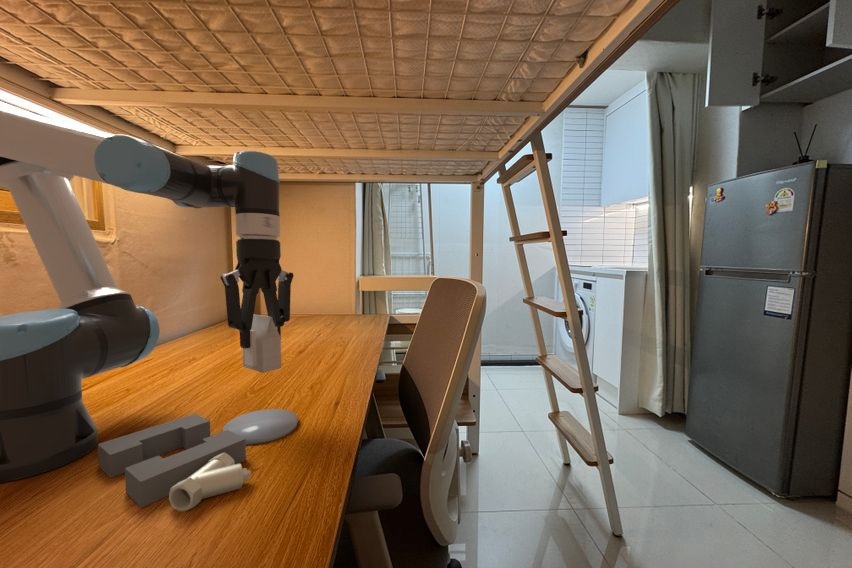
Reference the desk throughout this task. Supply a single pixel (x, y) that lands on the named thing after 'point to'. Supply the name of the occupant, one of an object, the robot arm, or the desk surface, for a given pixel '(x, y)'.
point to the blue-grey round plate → (263, 425)
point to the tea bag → (265, 345)
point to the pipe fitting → (208, 482)
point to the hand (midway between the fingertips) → (261, 361)
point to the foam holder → (160, 474)
